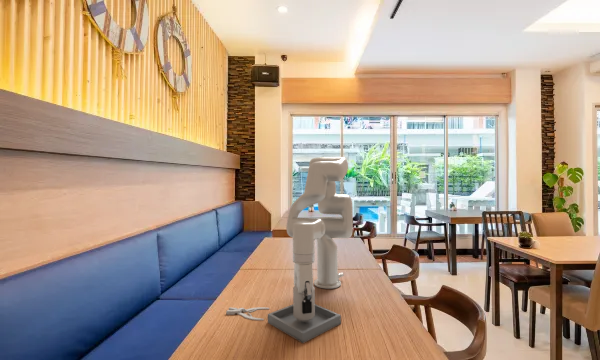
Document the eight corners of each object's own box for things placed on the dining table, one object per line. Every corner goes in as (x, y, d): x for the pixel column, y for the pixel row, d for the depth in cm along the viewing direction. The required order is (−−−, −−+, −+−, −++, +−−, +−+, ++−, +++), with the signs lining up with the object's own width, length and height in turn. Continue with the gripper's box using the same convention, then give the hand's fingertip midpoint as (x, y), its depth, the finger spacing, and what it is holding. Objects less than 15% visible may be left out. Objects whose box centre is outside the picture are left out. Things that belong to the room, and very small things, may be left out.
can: (304, 310, 111) (303, 277, 111) (319, 317, 106) (319, 283, 106) (288, 317, 106) (288, 283, 106) (304, 324, 101) (304, 288, 100)
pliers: (263, 317, 108) (222, 315, 110) (263, 321, 108) (222, 319, 110) (269, 305, 118) (232, 303, 120) (269, 309, 118) (232, 307, 120)
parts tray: (305, 307, 119) (305, 299, 118) (340, 323, 105) (340, 314, 105) (267, 322, 106) (267, 314, 106) (302, 343, 93) (302, 333, 93)
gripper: (288, 251, 113) (288, 299, 114) (298, 265, 96) (298, 320, 97) (308, 250, 115) (308, 297, 115) (321, 263, 98) (321, 318, 98)
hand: (304, 307), depth 106 cm, fingers closed on can, 7 cm apart
